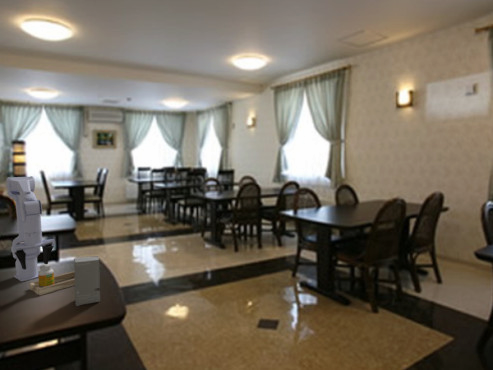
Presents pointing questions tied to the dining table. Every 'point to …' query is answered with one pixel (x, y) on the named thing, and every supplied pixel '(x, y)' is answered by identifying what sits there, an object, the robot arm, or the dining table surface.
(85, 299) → the skincare box
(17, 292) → the dining table surface
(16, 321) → the dining table surface
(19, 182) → the robot arm
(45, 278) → the supplement bottle
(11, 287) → the dining table surface
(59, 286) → the tray
